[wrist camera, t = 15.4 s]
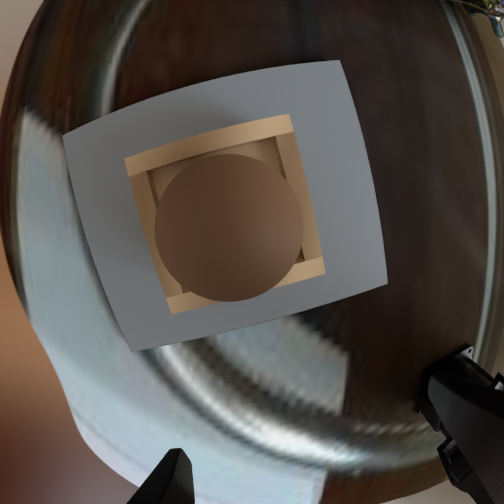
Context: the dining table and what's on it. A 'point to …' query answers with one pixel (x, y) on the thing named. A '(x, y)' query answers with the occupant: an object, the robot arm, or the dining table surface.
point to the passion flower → (486, 11)
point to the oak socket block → (215, 143)
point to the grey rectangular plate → (205, 120)
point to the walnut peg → (228, 227)
